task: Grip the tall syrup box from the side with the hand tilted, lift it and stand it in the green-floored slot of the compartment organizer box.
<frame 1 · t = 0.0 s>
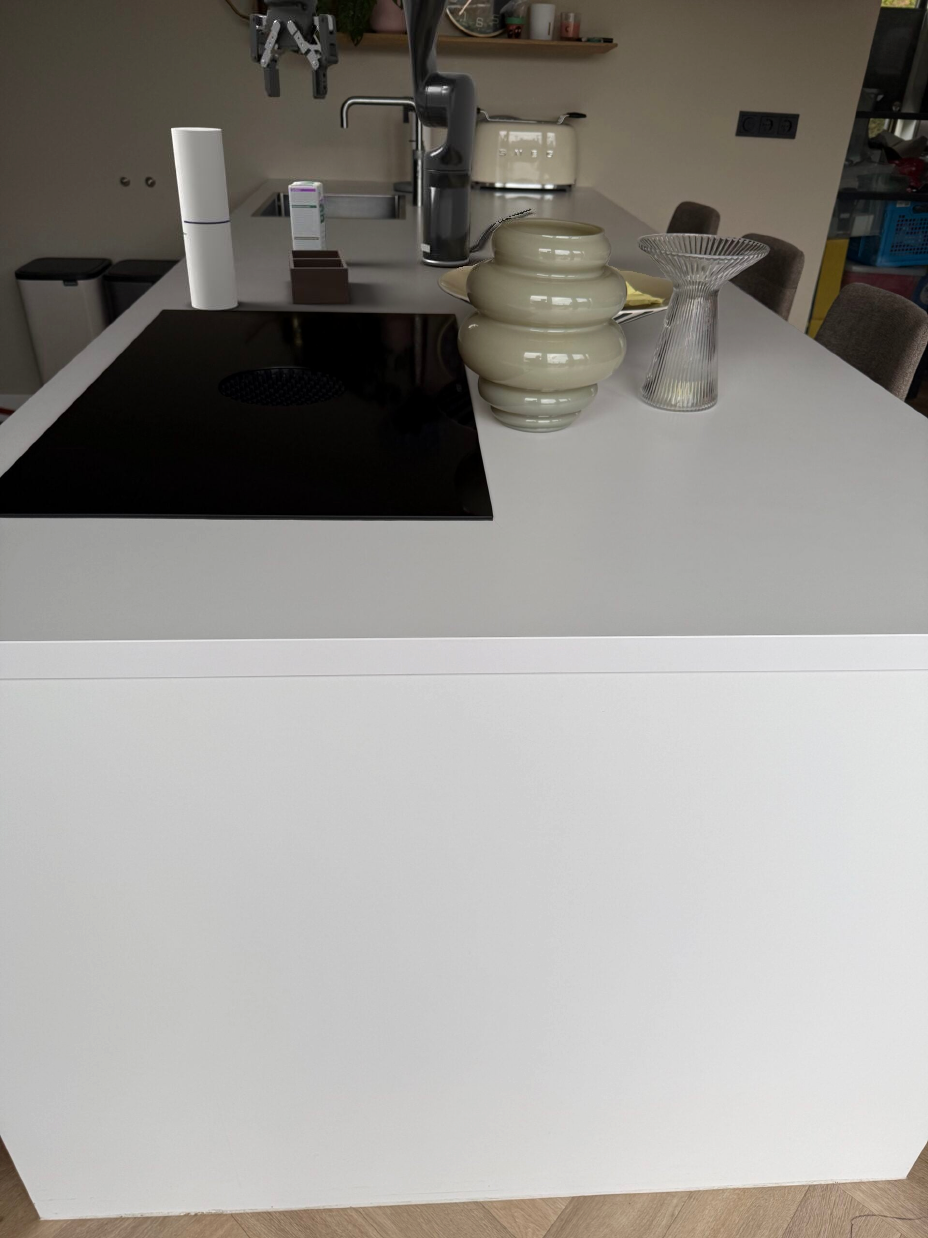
hand: (296, 97, 136), 29 cm above the table, tool pointing down, fingers open, 8 cm apart
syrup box: (310, 264, 181), on the table
compartment organizer box: (318, 292, 158), on the table
cylindrical container: (215, 306, 147), on the table
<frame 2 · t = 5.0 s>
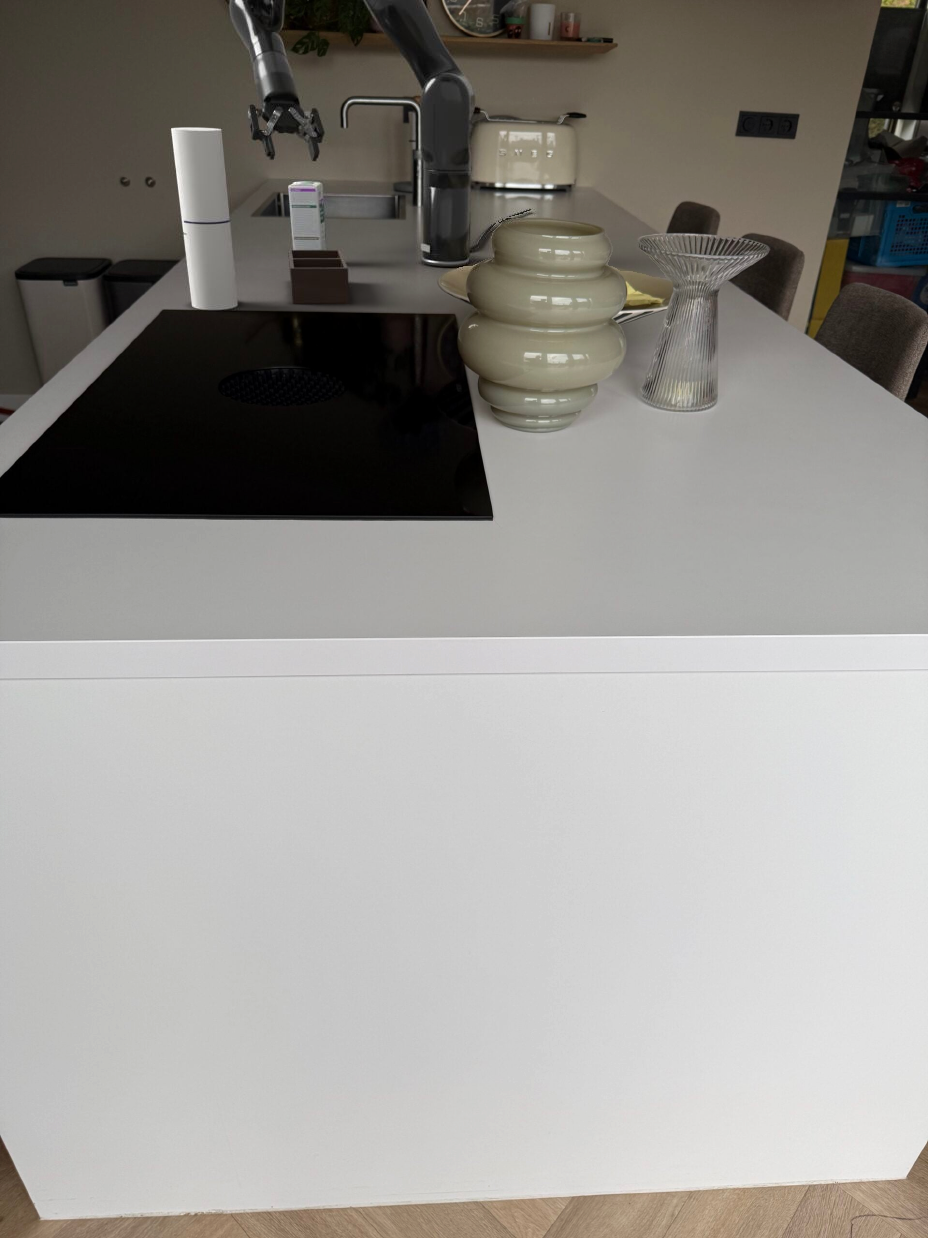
hand: (294, 157, 178), 18 cm above the table, tool tilted 40°, fingers open, 8 cm apart
nothing on the table moved.
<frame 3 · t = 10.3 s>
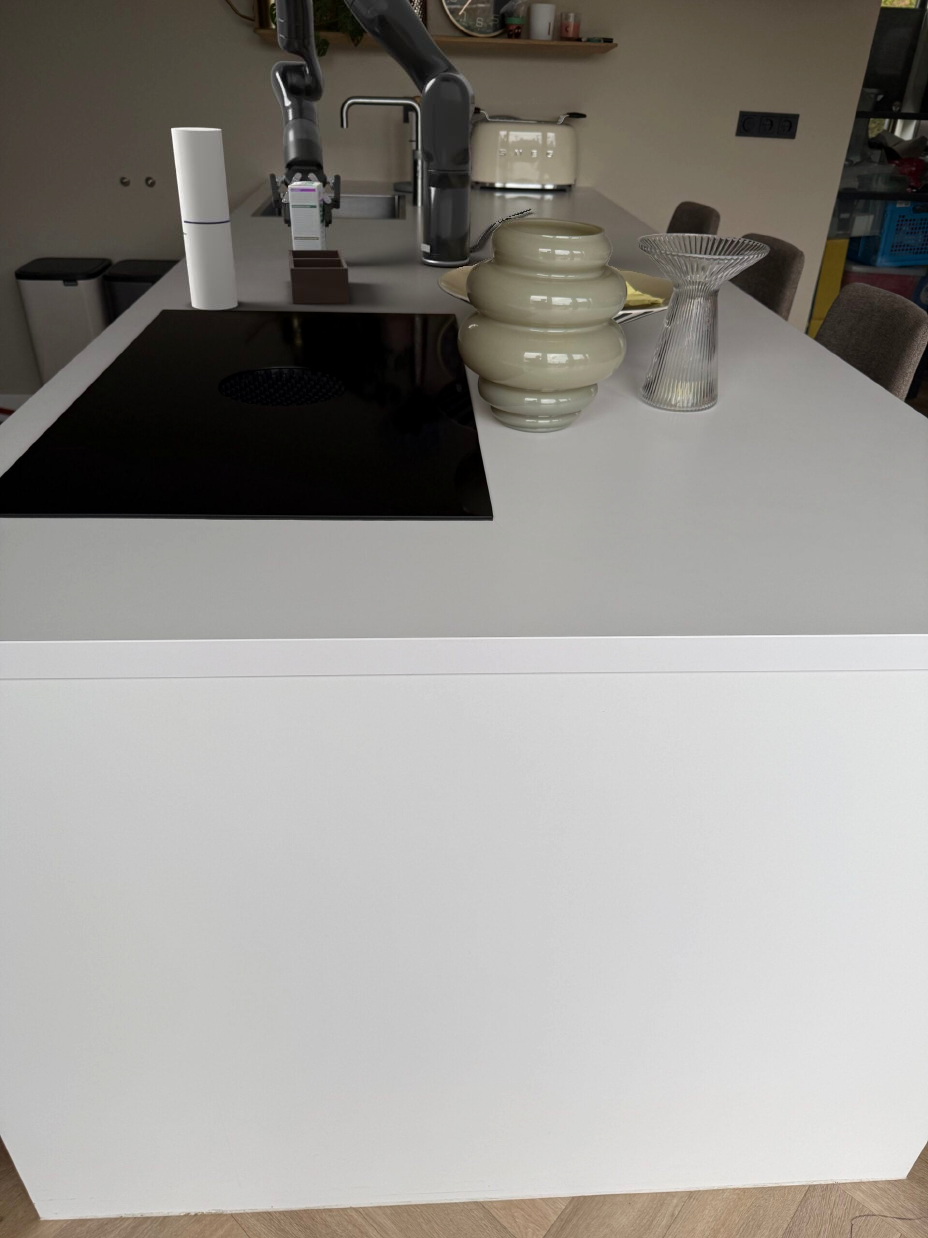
hand: (308, 223, 176), 7 cm above the table, tool tilted 45°, fingers closed on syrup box, 6 cm apart
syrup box: (310, 264, 181), on the table, touching gripper
everything else where it was.
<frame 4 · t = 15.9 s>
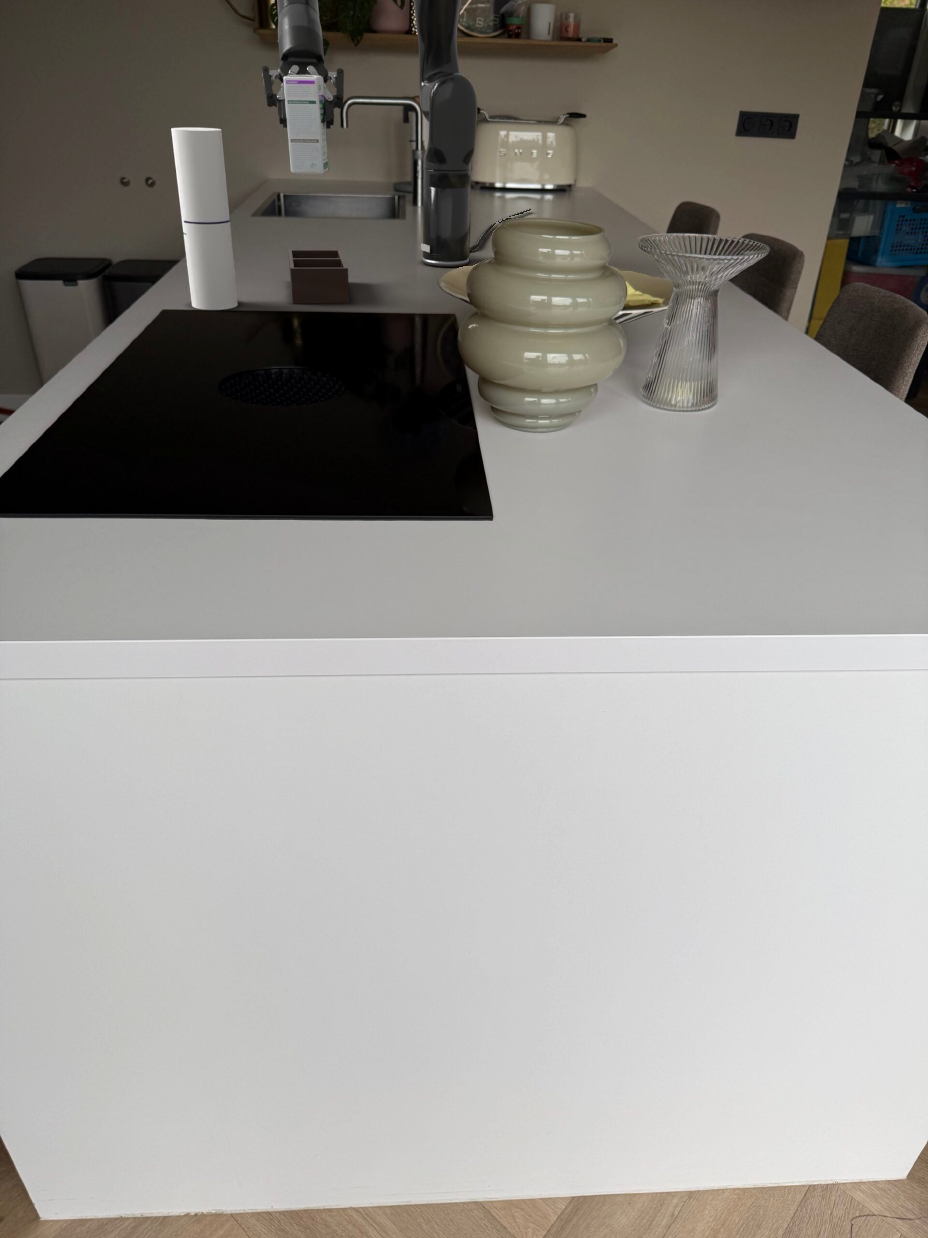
hand: (306, 124, 153), 25 cm above the table, tool tilted 45°, fingers closed on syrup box, 6 cm apart
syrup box: (309, 173, 158), point 18 cm above the table, touching gripper
everything else where it was.
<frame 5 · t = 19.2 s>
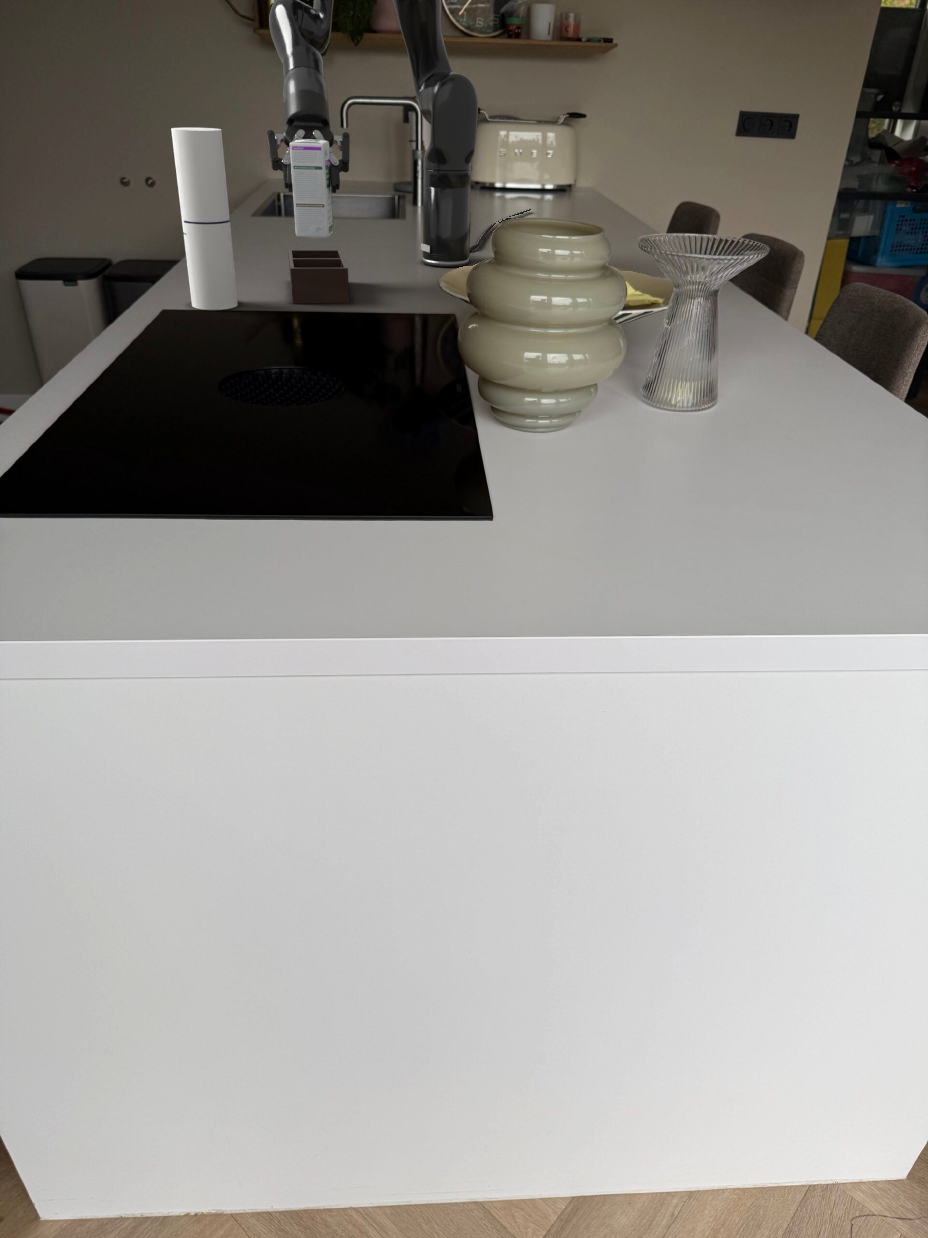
hand: (312, 188, 152), 16 cm above the table, tool tilted 45°, fingers closed on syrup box, 6 cm apart
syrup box: (314, 236, 157), point 8 cm above the table, touching gripper
everything else where it was.
when the fingers open (8 cm above the table, at t = 21.9 s): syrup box stays where it is, resting on compartment organizer box.
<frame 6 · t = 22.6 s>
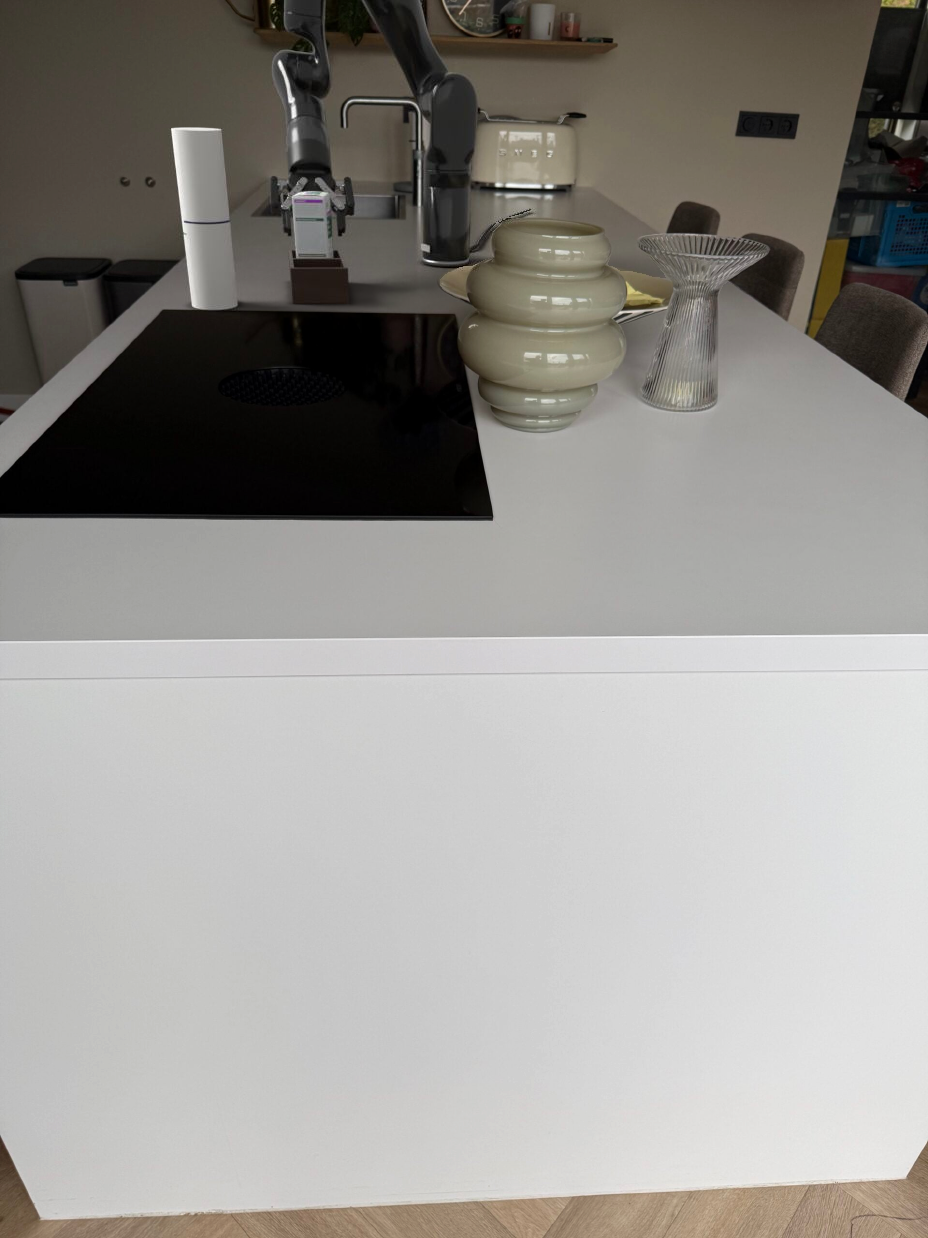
hand: (315, 233, 156), 9 cm above the table, tool tilted 45°, fingers open, 8 cm apart
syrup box: (316, 283, 161), point 1 cm above the table, touching compartment organizer box
everything else where it was.
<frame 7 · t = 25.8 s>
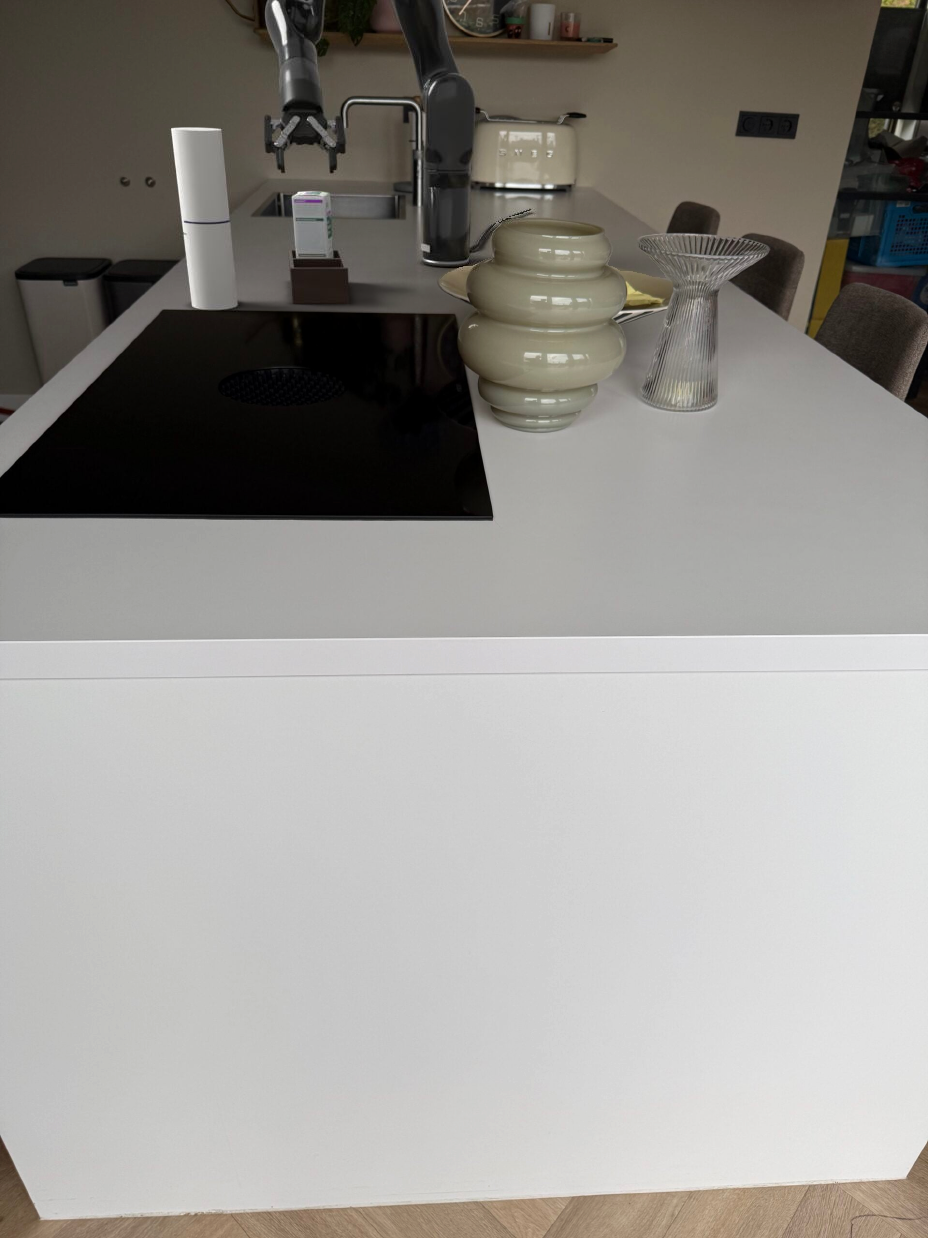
hand: (307, 169, 161), 18 cm above the table, tool tilted 45°, fingers open, 8 cm apart
nothing on the table moved.
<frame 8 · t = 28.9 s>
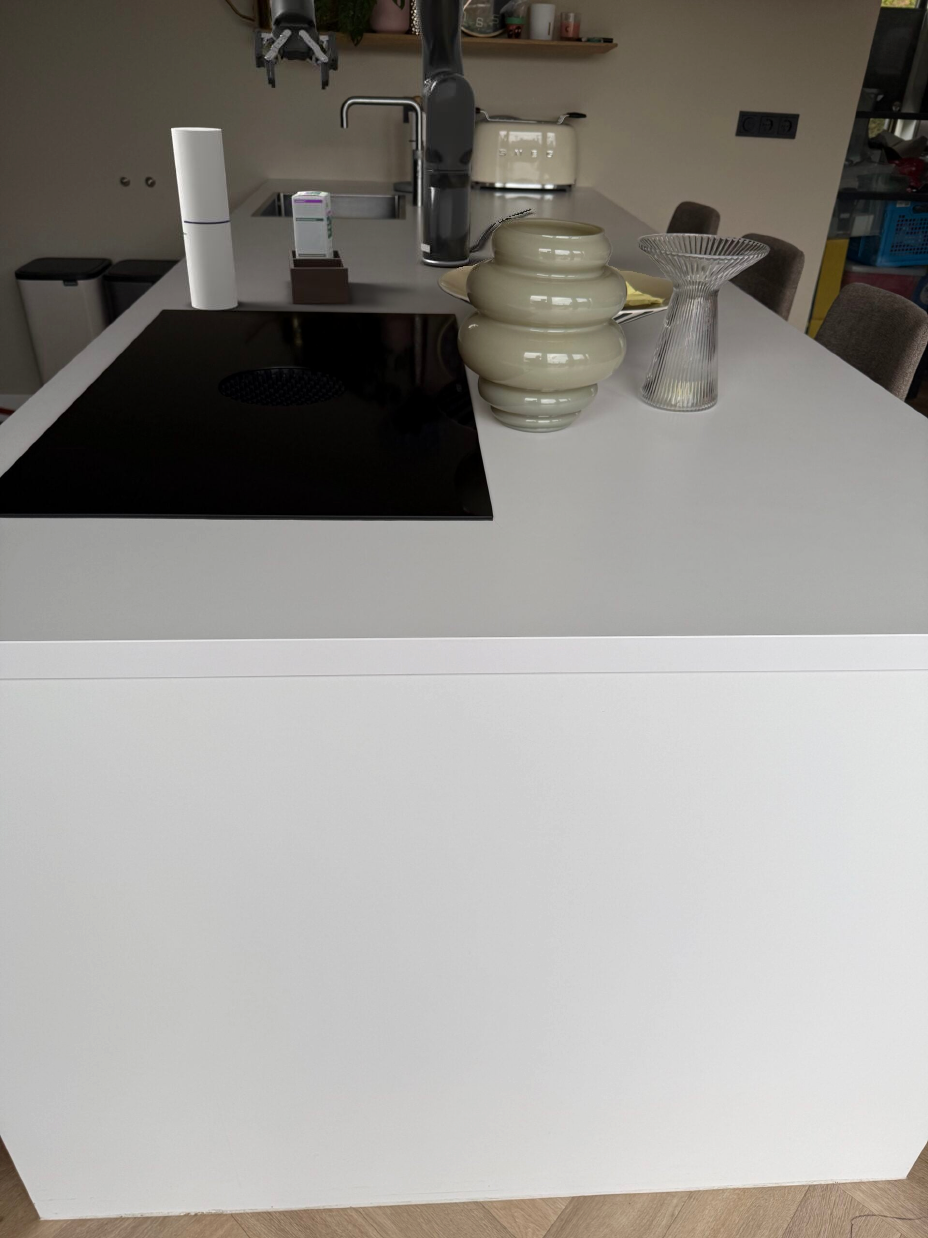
hand: (298, 84, 157), 31 cm above the table, tool tilted 45°, fingers open, 8 cm apart
nothing on the table moved.
at the end: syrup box 0.1 cm from the target spot in the compartment organizer box, point 0.5 cm above the compartment organizer box's base; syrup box tilted 0°; the gripper is holding nothing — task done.
